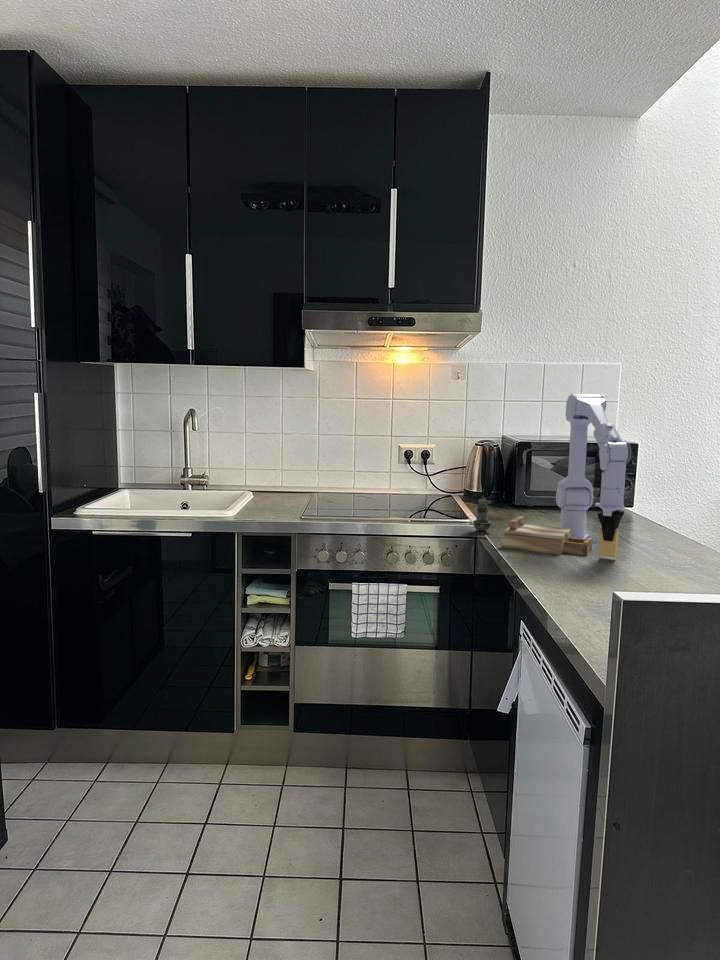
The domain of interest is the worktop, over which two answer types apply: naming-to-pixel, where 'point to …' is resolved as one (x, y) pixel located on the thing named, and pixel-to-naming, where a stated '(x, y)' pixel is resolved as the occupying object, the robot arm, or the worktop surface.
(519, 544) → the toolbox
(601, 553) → the yellow block
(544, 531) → the lid
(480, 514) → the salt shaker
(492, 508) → the worktop surface
